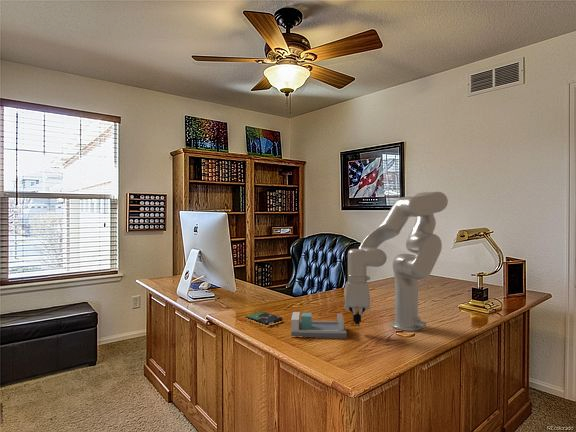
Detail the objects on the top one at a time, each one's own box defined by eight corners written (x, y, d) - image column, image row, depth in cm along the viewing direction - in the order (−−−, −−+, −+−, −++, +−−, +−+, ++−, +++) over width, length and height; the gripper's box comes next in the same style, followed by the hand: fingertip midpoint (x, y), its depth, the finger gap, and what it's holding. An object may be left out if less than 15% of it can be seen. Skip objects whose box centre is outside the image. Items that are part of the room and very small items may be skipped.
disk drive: (283, 323, 165) (260, 316, 175) (283, 317, 165) (260, 310, 175) (266, 329, 157) (244, 321, 167) (266, 322, 157) (244, 315, 167)
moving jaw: (341, 324, 154) (341, 313, 154) (343, 332, 144) (343, 320, 144) (337, 324, 155) (337, 313, 154) (338, 332, 145) (338, 320, 145)
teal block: (311, 325, 153) (311, 312, 153) (311, 329, 148) (311, 316, 148) (302, 325, 153) (302, 312, 153) (301, 329, 148) (301, 316, 148)
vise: (344, 328, 155) (344, 312, 155) (346, 338, 143) (346, 320, 143) (293, 327, 157) (292, 311, 157) (291, 337, 145) (291, 320, 145)
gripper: (374, 277, 152) (374, 321, 152) (338, 277, 153) (338, 320, 153) (377, 281, 144) (377, 326, 145) (339, 280, 145) (339, 326, 146)
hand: (357, 323), depth 149 cm, fingers closed
